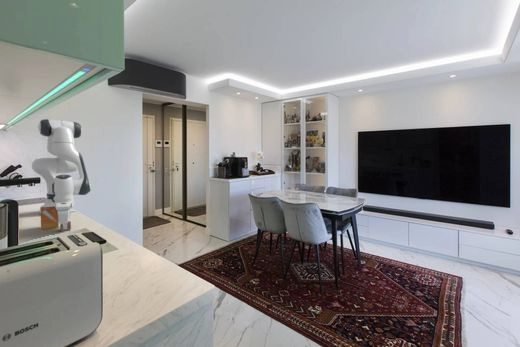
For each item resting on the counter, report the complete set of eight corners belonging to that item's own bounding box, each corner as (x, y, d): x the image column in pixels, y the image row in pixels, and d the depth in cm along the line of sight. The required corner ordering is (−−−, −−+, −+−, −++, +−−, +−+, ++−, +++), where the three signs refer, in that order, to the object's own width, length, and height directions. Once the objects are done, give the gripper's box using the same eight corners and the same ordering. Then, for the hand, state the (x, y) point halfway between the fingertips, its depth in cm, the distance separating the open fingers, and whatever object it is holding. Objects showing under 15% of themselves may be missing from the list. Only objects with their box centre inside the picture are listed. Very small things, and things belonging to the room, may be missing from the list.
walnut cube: (61, 229, 150) (61, 222, 150) (71, 228, 153) (70, 221, 152) (60, 232, 147) (60, 224, 146) (70, 230, 149) (70, 223, 149)
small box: (41, 229, 149) (39, 207, 148) (42, 226, 154) (41, 205, 153) (58, 227, 153) (57, 205, 152) (59, 224, 159) (58, 203, 157)
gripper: (59, 200, 155) (60, 223, 157) (55, 207, 138) (56, 233, 139) (72, 199, 159) (73, 221, 160) (70, 206, 141) (71, 231, 143)
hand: (65, 227), depth 150 cm, fingers open, 5 cm apart
